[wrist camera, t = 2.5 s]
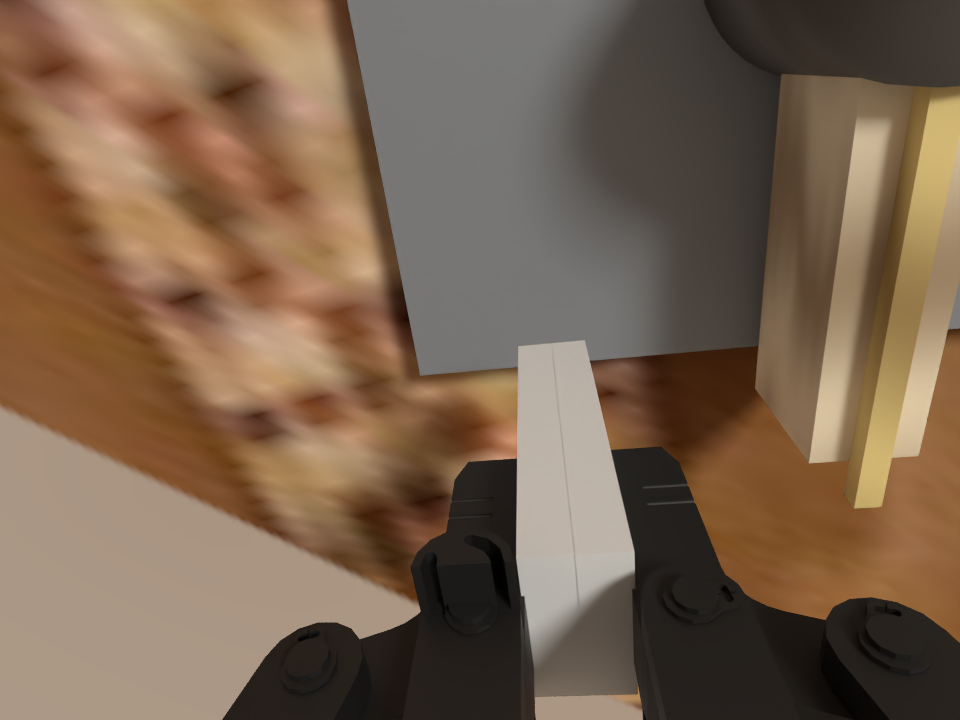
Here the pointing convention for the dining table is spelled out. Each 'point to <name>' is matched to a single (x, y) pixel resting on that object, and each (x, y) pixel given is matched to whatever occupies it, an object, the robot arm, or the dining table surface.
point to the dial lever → (857, 221)
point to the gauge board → (570, 175)
